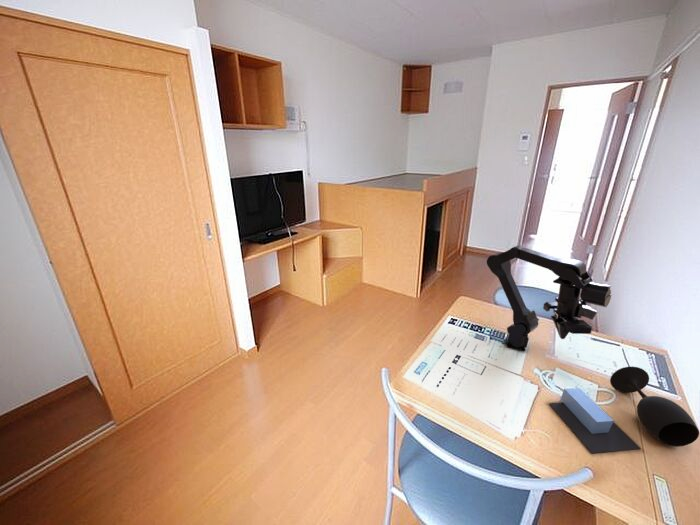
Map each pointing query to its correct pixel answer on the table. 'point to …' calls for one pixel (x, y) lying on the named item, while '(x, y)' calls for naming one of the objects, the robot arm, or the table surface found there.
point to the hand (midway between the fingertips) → (562, 338)
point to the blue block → (586, 410)
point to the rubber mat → (597, 441)
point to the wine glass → (656, 409)
